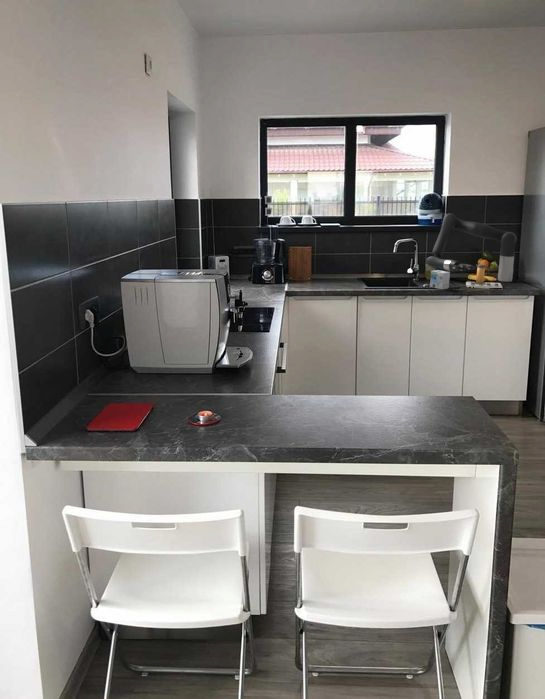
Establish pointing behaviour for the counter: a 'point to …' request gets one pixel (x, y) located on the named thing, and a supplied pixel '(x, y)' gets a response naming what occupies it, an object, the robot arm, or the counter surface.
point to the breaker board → (483, 285)
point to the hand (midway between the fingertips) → (471, 268)
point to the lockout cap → (480, 273)
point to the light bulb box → (439, 279)
